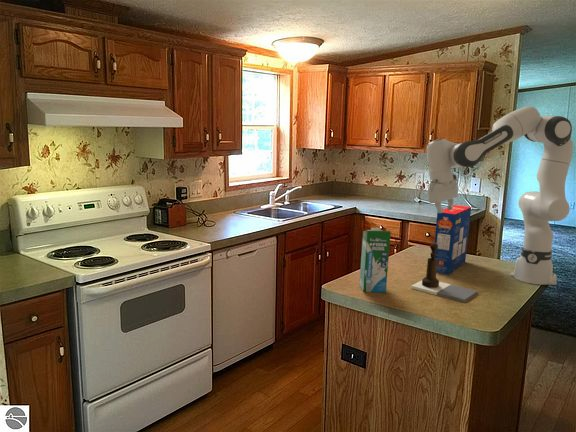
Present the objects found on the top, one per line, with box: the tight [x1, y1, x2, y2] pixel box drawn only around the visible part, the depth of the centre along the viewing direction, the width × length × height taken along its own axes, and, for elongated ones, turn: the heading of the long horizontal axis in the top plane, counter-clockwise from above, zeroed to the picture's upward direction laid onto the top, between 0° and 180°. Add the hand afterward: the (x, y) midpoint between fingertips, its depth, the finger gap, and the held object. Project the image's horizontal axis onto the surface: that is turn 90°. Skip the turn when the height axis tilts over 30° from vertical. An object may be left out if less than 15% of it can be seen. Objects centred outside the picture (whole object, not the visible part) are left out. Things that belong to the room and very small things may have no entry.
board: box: [410, 280, 479, 303], centre depth 193 cm, size 14×22×1 cm, turn 49°
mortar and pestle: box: [421, 241, 440, 288], centre depth 194 cm, size 7×6×18 cm
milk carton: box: [359, 227, 392, 293], centre depth 190 cm, size 9×9×25 cm
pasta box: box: [434, 204, 472, 276], centre depth 226 cm, size 28×8×28 cm, turn 146°
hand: (445, 211), depth 198 cm, fingers open, 8 cm apart
